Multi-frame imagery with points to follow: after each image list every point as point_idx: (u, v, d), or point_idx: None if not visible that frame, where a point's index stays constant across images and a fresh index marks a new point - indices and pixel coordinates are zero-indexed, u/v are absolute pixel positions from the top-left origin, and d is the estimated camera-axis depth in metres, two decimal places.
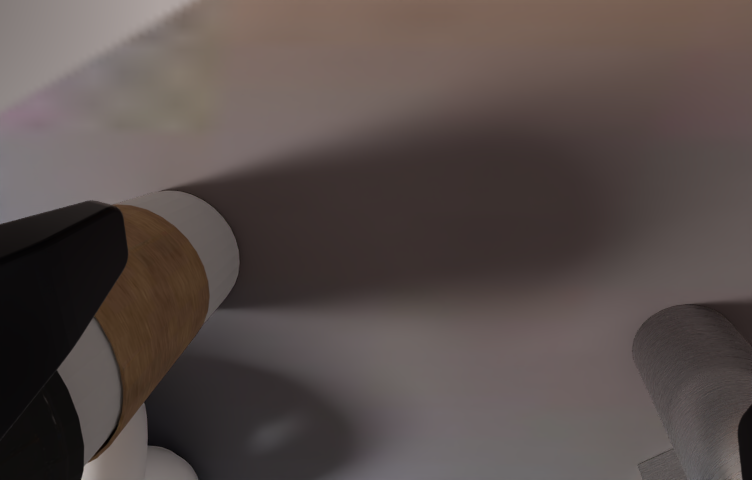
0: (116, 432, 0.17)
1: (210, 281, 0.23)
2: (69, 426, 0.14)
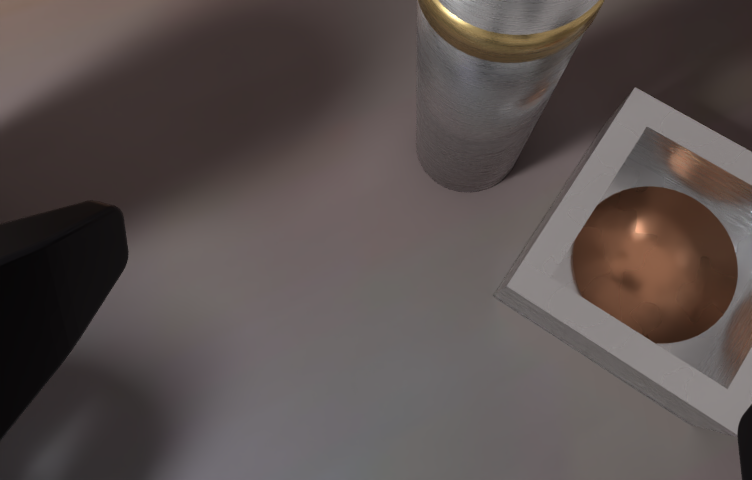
0: None
1: None
2: None
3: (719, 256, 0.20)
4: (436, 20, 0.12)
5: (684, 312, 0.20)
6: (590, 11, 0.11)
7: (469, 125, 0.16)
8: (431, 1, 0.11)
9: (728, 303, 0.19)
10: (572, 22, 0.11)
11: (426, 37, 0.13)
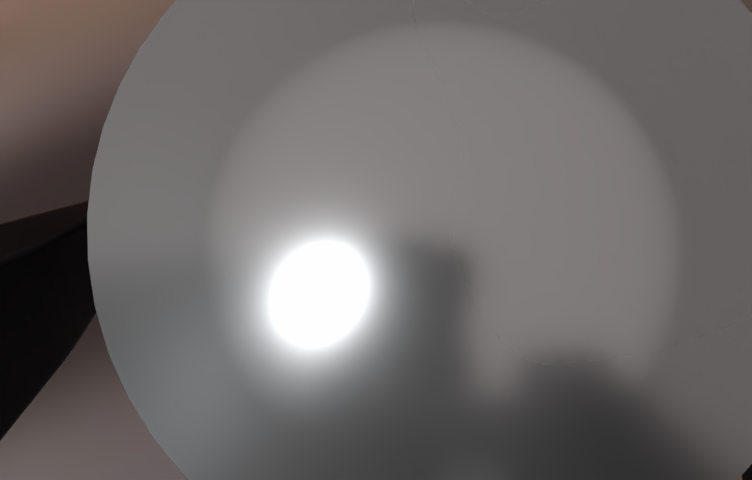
0: None
1: None
2: None
3: None
4: None
5: None
6: None
7: None
8: None
9: None
10: None
11: None
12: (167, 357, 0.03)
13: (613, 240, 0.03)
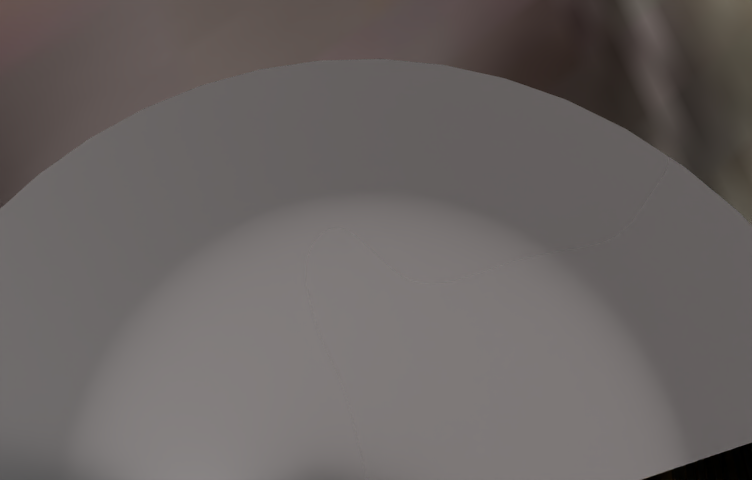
0: None
1: None
2: None
3: None
4: None
5: None
6: None
7: None
8: None
9: None
10: None
11: None
12: None
13: None
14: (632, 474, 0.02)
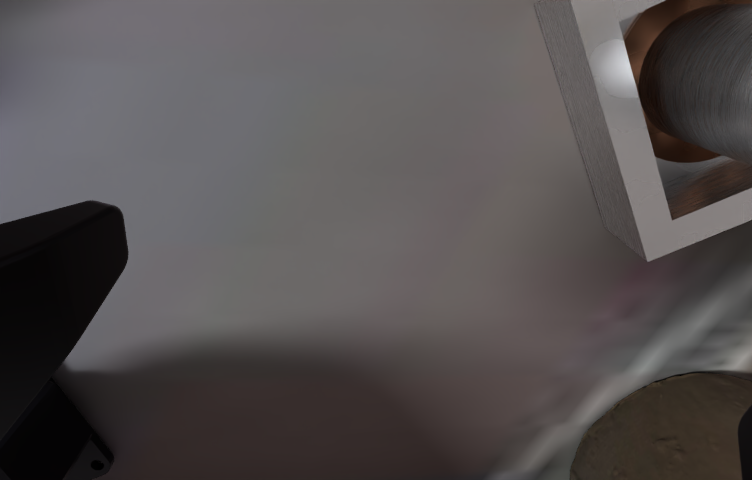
0: None
1: None
2: None
3: None
4: None
5: None
6: None
7: None
8: None
9: None
10: None
11: None
12: None
13: None
14: None
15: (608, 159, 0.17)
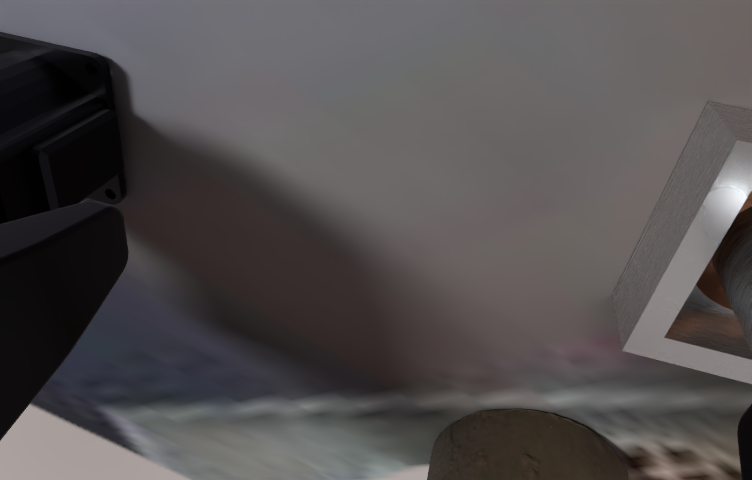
0: None
1: None
2: None
3: None
4: None
5: None
6: None
7: None
8: None
9: None
10: None
11: None
12: None
13: None
14: None
15: (658, 264, 0.18)
